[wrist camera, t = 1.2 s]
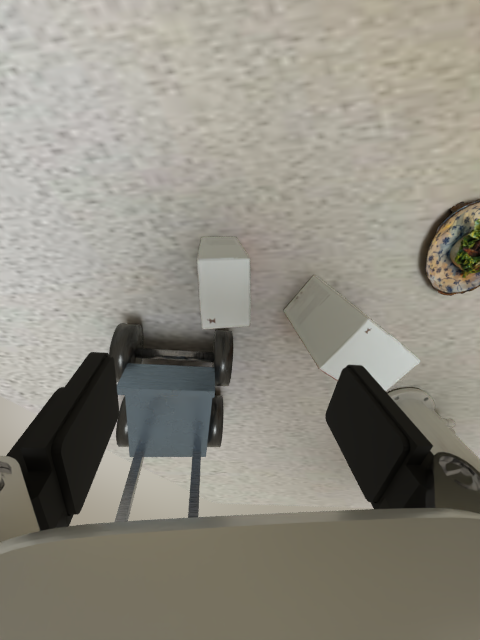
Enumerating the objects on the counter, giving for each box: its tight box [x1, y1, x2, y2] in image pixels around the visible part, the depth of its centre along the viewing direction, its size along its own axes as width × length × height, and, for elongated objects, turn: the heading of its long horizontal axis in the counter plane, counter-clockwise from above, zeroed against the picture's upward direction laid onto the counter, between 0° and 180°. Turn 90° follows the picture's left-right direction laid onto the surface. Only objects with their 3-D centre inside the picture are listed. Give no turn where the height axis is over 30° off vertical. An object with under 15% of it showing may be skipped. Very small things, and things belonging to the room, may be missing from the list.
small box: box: [284, 275, 420, 391], centre depth 29 cm, size 8×6×13 cm
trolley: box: [109, 323, 233, 522], centre depth 28 cm, size 13×18×21 cm
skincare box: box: [197, 237, 251, 330], centre depth 26 cm, size 6×4×12 cm
